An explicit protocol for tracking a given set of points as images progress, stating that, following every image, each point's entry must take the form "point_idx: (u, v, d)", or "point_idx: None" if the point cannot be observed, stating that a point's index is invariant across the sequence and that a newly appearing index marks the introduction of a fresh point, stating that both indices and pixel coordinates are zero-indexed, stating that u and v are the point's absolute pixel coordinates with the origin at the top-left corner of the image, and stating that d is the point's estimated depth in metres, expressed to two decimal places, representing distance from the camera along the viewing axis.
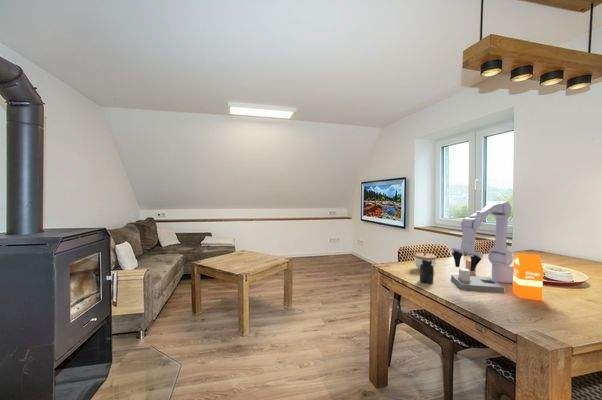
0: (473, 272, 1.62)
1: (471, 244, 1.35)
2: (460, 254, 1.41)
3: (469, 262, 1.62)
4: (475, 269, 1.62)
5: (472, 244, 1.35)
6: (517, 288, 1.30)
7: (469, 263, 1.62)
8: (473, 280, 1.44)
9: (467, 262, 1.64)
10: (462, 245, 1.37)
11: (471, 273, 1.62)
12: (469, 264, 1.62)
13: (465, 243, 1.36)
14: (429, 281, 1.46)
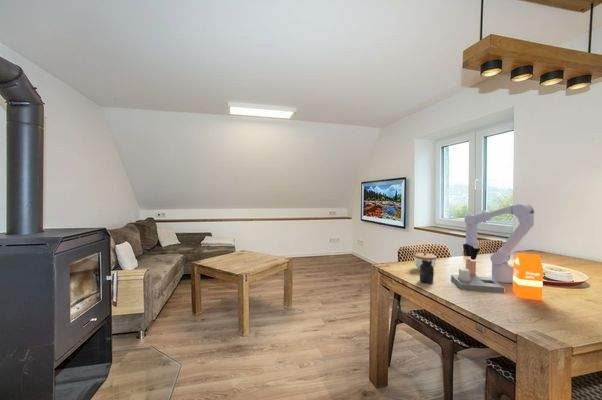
0: (473, 272, 1.62)
1: (470, 237, 1.61)
2: (470, 245, 1.67)
3: (469, 262, 1.62)
4: (475, 269, 1.62)
5: (471, 237, 1.61)
6: (517, 288, 1.30)
7: (469, 263, 1.62)
8: (473, 280, 1.44)
9: (467, 262, 1.64)
10: None
11: (471, 273, 1.62)
12: (469, 264, 1.62)
13: (466, 236, 1.63)
14: (429, 281, 1.46)
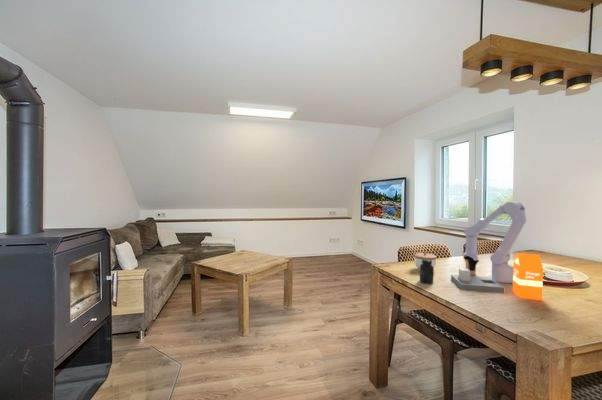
0: (473, 272, 1.62)
1: (470, 249, 1.61)
2: (471, 257, 1.66)
3: None
4: (475, 269, 1.62)
5: (471, 249, 1.61)
6: (517, 288, 1.30)
7: None
8: (473, 280, 1.44)
9: (467, 262, 1.64)
10: None
11: (471, 273, 1.62)
12: None
13: (466, 248, 1.64)
14: (429, 281, 1.46)
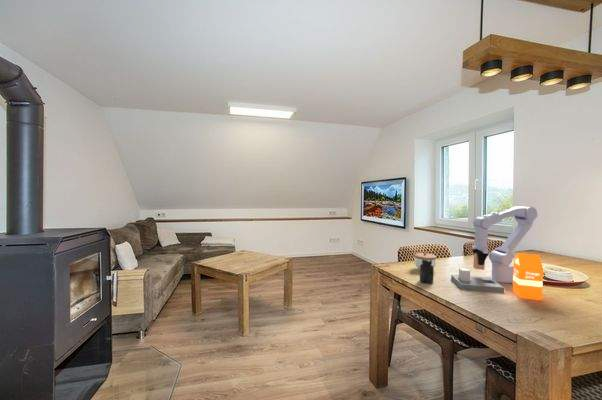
0: (482, 267, 1.48)
1: (480, 241, 1.48)
2: None
3: None
4: (484, 263, 1.48)
5: (481, 241, 1.48)
6: (517, 288, 1.30)
7: (477, 257, 1.49)
8: (473, 280, 1.44)
9: (475, 256, 1.50)
10: None
11: (479, 268, 1.49)
12: (477, 258, 1.49)
13: (475, 240, 1.50)
14: (429, 281, 1.46)
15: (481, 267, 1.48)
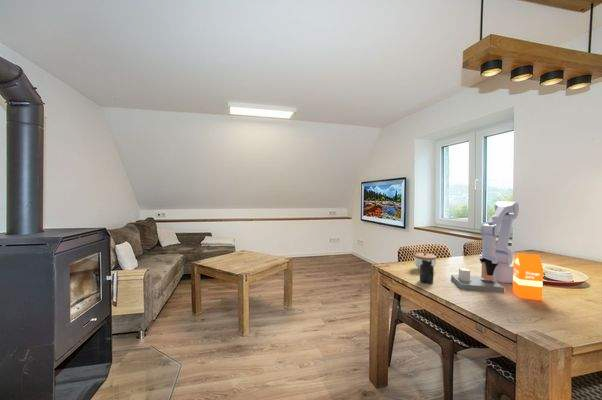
0: (491, 277, 1.40)
1: (488, 250, 1.40)
2: (489, 260, 1.44)
3: None
4: (493, 274, 1.40)
5: (489, 250, 1.39)
6: (517, 288, 1.30)
7: None
8: (473, 280, 1.44)
9: (483, 265, 1.42)
10: (482, 251, 1.43)
11: (488, 278, 1.40)
12: None
13: (483, 249, 1.42)
14: (429, 281, 1.46)
15: (490, 277, 1.40)
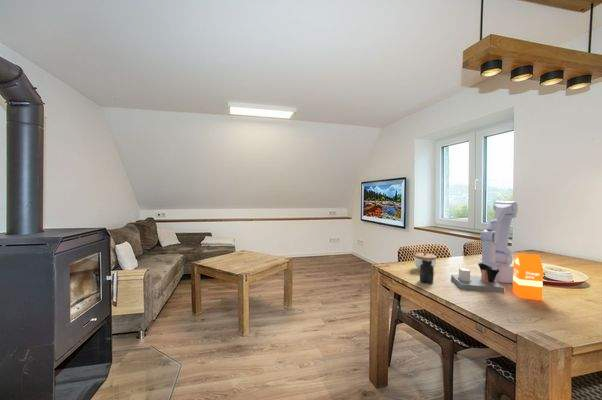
0: None
1: (488, 256, 1.40)
2: (487, 265, 1.45)
3: (486, 273, 1.41)
4: None
5: (489, 256, 1.39)
6: (517, 288, 1.30)
7: (486, 275, 1.41)
8: (473, 280, 1.44)
9: (483, 273, 1.42)
10: (482, 257, 1.43)
11: None
12: (486, 276, 1.41)
13: (482, 255, 1.42)
14: (429, 281, 1.46)
15: None
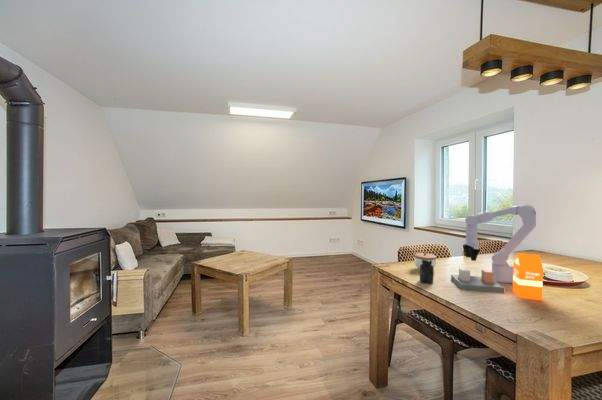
0: None
1: (470, 238, 1.58)
2: (470, 246, 1.64)
3: (486, 273, 1.41)
4: None
5: (471, 238, 1.58)
6: (517, 288, 1.30)
7: (485, 275, 1.41)
8: (473, 280, 1.44)
9: (483, 273, 1.42)
10: None
11: None
12: (486, 276, 1.41)
13: (466, 237, 1.61)
14: (429, 281, 1.46)
15: None
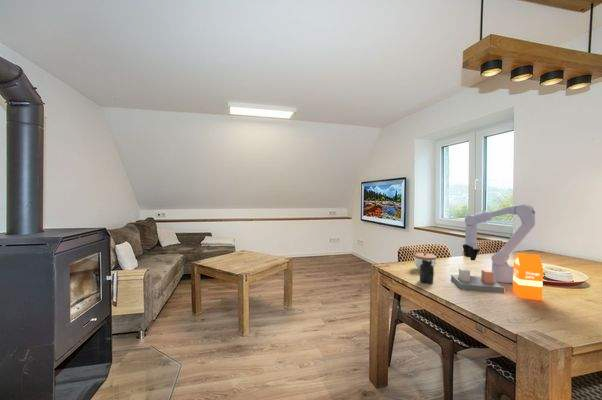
0: None
1: (470, 237, 1.59)
2: (470, 246, 1.65)
3: (486, 273, 1.41)
4: None
5: (471, 237, 1.59)
6: (517, 288, 1.30)
7: (485, 275, 1.41)
8: (473, 280, 1.44)
9: (483, 273, 1.42)
10: (465, 238, 1.63)
11: None
12: (486, 276, 1.41)
13: (466, 237, 1.62)
14: (429, 281, 1.46)
15: None
